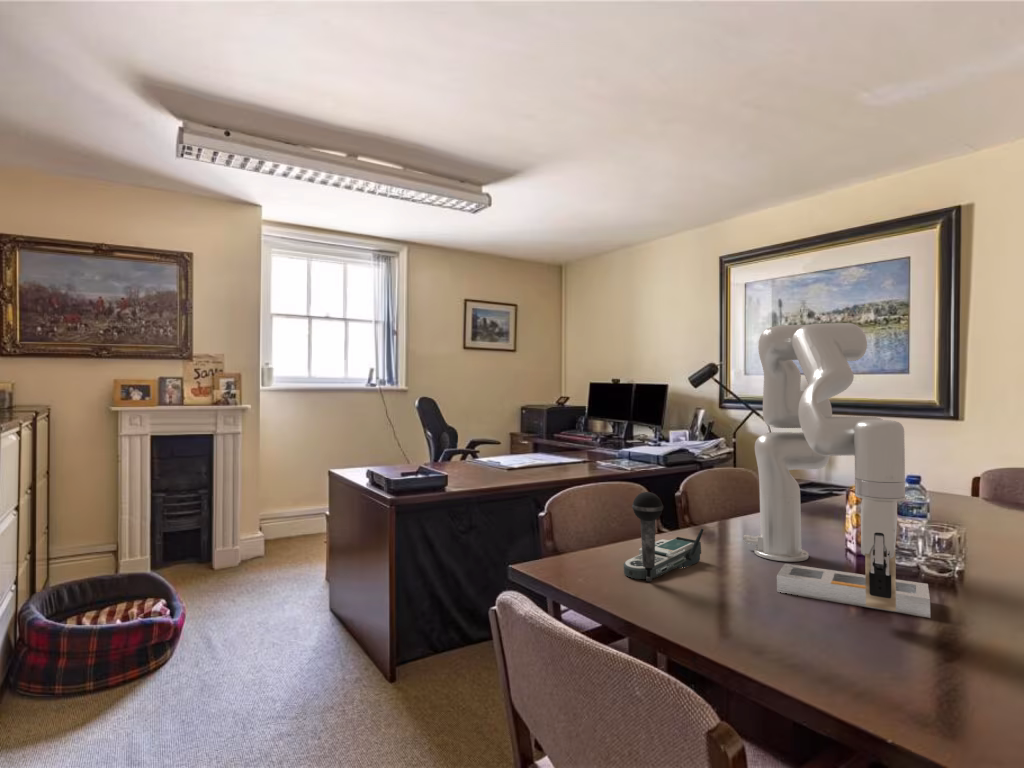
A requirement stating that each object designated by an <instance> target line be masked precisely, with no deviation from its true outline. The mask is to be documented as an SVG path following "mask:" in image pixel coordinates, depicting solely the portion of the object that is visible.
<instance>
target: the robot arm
mask: <svg viewBox="0 0 1024 768" xmlns="http://www.w3.org/2000/svg"><path fill="white" fill-rule="evenodd" d="M757 348H758V356H759V360H760V363H761V366H762V372H763V388H762V389H763V392H762V393H763V395H762V396H763V397H762V417H763V418H762V419H763V422H764V423H765V425H767V426H769V427H771V428H777V429H801V430H802V432H800V431H799V432H792V431H790V432H789V431H788V432H787V431H785V432H779V431H778V432H776V431H775V432H767V433H763V434H762V435H759V436H758V438H756V440H755V442H754V454H755V459H756V460H755V461H756V464H757V472H758V479H759V480H758V483H759V485H758V486H759V516H760V517H759V523H760V525H759V527H760V530H759V531H760V534H759V535H758V534H757V535H756V536H755V535H750V534H749V535H748V534H744V535H743V537H742V538H743V539H742V540H743V542H744V543H745V544H748V545H755V547H754V549H753V551H754V554H755V555H757V556H759V557H761V558H764V559H766V560H771V561H779V562H790V563H791V562H795V563H796V562H803V561H807V560H808V559H809V551H806V550H805V549H802V522H801V521H802V520H801V519H802V518H801V517H802V516H801V514H802V513H801V512H802V510H801V489H800V485H799V482H798V481H797V480H796V479H795V478H794V477H793V475H792V474H791V472H790V471H792V470H793V471H794V470H819V469H823V468H824V467H826V466H827V464H828V463H829V461H830V460H829V459H830V457H832V456H852V457H853V456H854V496H855V497H856V498H859V499H861V507H860V553H861V555H862V556H865V554H869V552H870V550H871V555H870V557H871V572H869V589H870V595H872V596H877V597H883V598H891V575H889V560H890V559H891V558H893V557H894V551H895V552H896V543H897V532H898V502H903V501H904V502H905V501H906V464H905V463H906V461H905V460H906V459H905V457H906V456H905V449H906V448H905V446H906V445H905V427H904V426H903V424H902V423H901V422H899V421H897V420H889V419H883V418H880V417H878V416H865V415H864V416H855V415H854V416H851V415H850V416H849V415H848V416H847V415H846V416H844V415H843V416H837V415H836V416H835V415H834V416H833V409H832V404H831V401H830V398H833V397H835V396H838V395H839V394H841V393H844V392H845V391H846V390H847V389H849V387H851V385H852V383H853V381H854V378H855V376H854V372H853V371H854V370H852V368H851V366H850V364H849V362H855V361H858V360H861V359H862V358H863V357H864V356H865V354H866V351H867V349H868V340H867V337H866V334H865V332H864V330H863V329H862V328H861V327H860V326H858V325H857V324H855V323H850V322H844V323H843V322H841V323H840V322H838V323H836V322H835V323H834V322H833V323H812V324H811V323H810V324H787V325H786V324H784V325H775V326H771V327H767V328H766V329H764V330H763V331H761V334H760V335H759V339H758V347H757ZM794 361H798V363H799V365H800V367H801V370H802V373H803V376H804V377H805V379H806V382H807V383H808V385H807V386H806V388H805V389H804V390H801V381H802V380H801V379H802V376H801V374H802V373H801V371H800V369H799V368H798V366H797V364H796V363H795V362H794ZM886 549H887V557H886V556H884V553H886ZM889 551H890V553H889ZM873 552H875V555H873ZM889 556H890V558H889ZM874 559H875V561H874ZM884 560H886V563H885V562H884Z"/></svg>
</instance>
